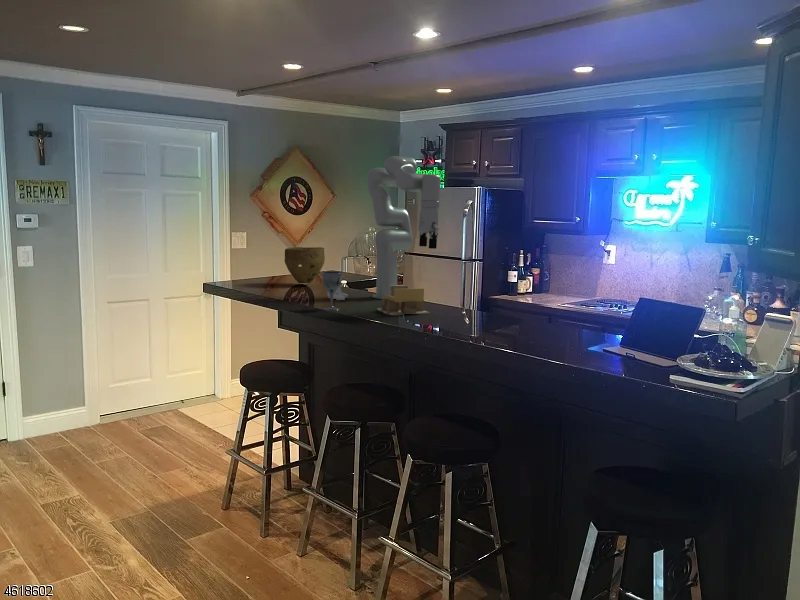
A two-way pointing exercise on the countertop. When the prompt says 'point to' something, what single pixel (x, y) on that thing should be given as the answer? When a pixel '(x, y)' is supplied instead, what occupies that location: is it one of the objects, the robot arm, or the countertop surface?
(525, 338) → the countertop surface
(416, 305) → the stepped wooden block
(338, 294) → the seated beast figurine
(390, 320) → the countertop surface
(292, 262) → the bowl
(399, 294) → the tan wooden block
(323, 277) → the wine glass
